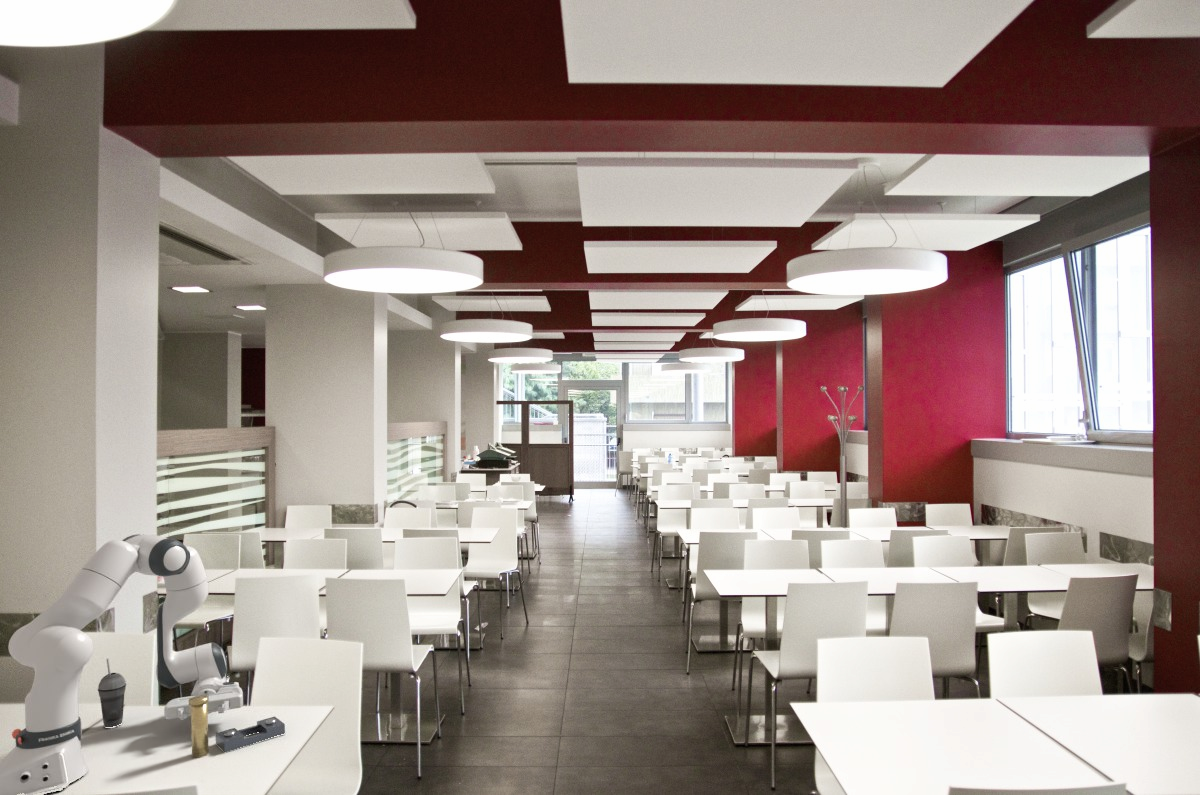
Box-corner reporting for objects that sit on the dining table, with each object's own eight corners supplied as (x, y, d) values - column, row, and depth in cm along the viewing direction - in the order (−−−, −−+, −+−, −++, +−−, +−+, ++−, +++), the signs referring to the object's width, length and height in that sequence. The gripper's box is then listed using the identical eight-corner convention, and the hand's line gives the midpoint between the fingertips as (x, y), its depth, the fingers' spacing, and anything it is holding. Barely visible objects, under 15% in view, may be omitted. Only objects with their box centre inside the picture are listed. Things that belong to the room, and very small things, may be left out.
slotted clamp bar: (224, 752, 208) (224, 739, 208) (215, 744, 214) (215, 731, 214) (285, 734, 219) (284, 721, 219) (275, 726, 225) (274, 714, 225)
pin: (193, 760, 204) (191, 703, 205) (188, 754, 208) (186, 698, 208) (212, 754, 208) (210, 698, 208) (207, 748, 211) (205, 693, 212)
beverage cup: (117, 730, 227) (115, 662, 227) (92, 731, 227) (91, 662, 227) (132, 720, 234) (131, 654, 234) (109, 721, 234) (107, 655, 235)
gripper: (167, 692, 225) (159, 708, 212) (244, 681, 233) (241, 695, 220) (167, 714, 225) (160, 731, 212) (244, 702, 233) (242, 718, 220)
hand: (202, 713), depth 216 cm, fingers open, 8 cm apart
